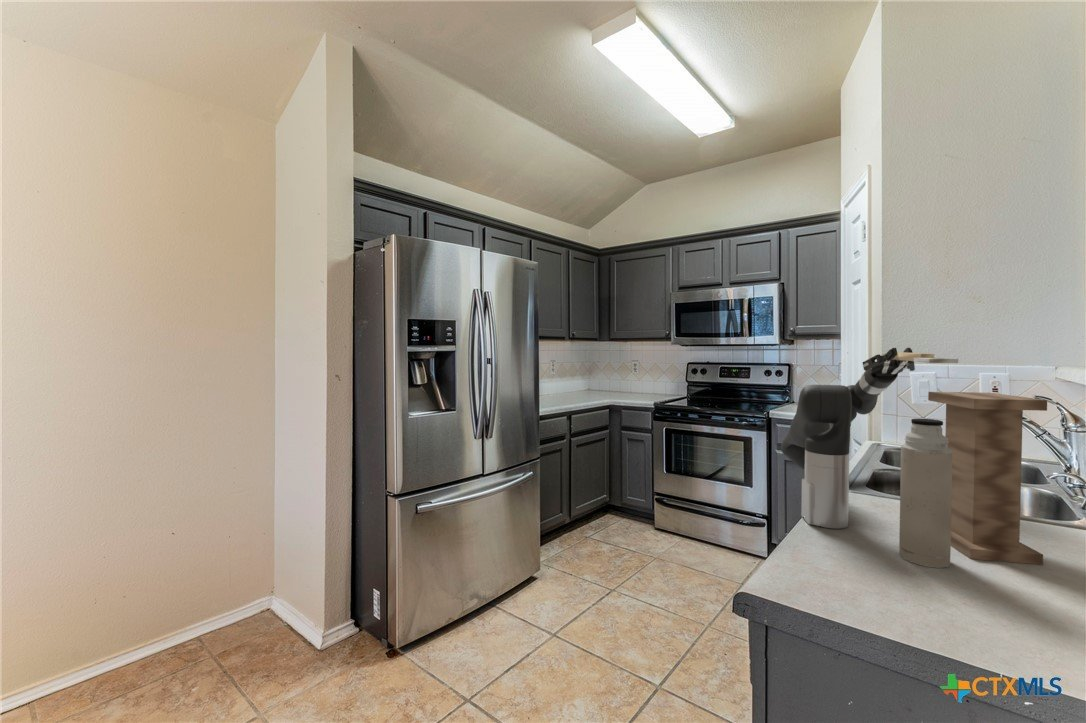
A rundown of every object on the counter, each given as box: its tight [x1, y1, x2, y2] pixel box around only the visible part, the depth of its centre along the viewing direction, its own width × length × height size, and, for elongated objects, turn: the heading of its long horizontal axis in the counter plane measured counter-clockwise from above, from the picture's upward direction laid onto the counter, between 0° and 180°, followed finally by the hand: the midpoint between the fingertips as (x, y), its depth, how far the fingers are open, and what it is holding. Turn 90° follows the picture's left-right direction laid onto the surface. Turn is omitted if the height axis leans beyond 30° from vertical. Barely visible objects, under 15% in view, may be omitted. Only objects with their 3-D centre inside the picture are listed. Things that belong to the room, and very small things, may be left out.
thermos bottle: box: [898, 418, 952, 569], centre depth 95 cm, size 8×8×28 cm
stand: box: [927, 391, 1048, 566], centre depth 102 cm, size 12×16×32 cm
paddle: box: [893, 351, 959, 364], centre depth 127 cm, size 6×25×2 cm, turn 167°
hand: (902, 350), depth 134 cm, fingers closed on paddle, 3 cm apart
